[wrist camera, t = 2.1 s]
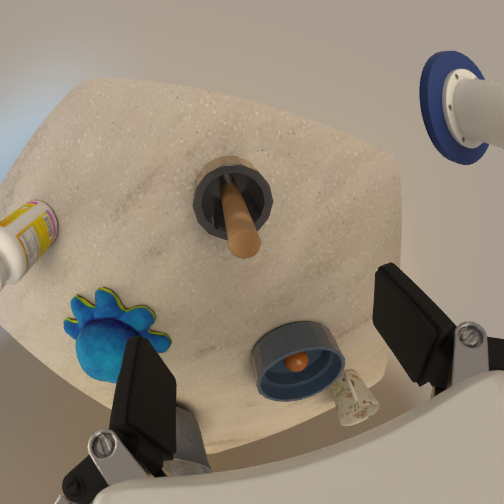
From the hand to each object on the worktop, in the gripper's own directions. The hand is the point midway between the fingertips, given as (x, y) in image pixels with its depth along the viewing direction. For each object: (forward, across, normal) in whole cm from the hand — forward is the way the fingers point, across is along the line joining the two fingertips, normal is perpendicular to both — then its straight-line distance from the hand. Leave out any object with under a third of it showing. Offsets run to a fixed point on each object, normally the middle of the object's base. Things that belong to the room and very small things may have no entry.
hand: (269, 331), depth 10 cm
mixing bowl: (+22, -3, +29) cm, 37 cm away
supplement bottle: (+23, +25, -4) cm, 34 cm away
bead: (+20, -3, +29) cm, 35 cm away
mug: (+22, -12, +42) cm, 49 cm away
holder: (+22, 0, 0) cm, 22 cm away
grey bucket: (+23, +24, +39) cm, 52 cm away
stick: (+22, 0, 0) cm, 22 cm away
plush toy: (+23, +23, +16) cm, 36 cm away
